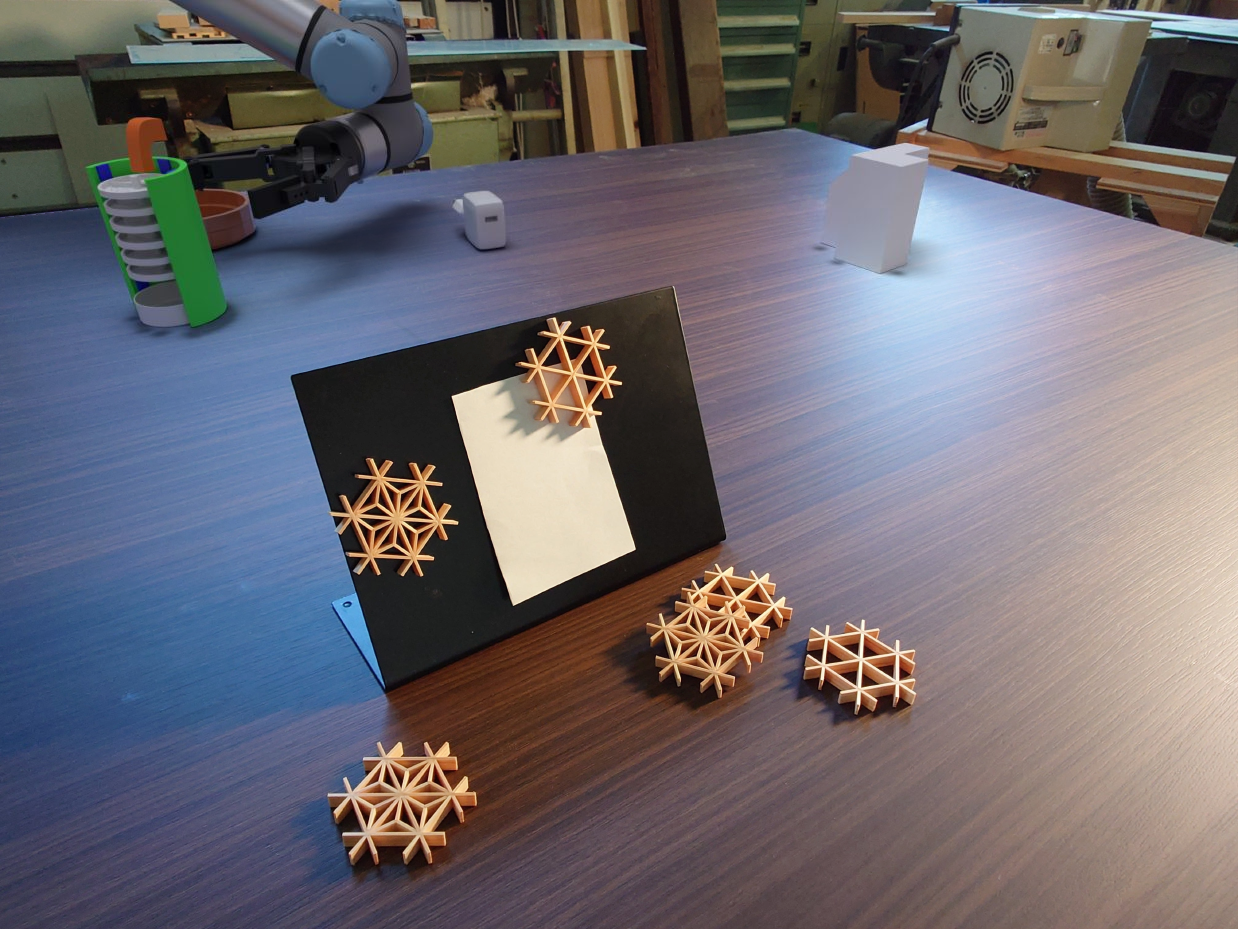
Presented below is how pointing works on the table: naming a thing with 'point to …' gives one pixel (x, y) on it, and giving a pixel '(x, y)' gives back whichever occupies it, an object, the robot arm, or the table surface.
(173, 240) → the green-shelled ribbed roller
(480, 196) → the power adapter
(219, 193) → the bowl
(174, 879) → the table surface
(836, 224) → the white notched block
